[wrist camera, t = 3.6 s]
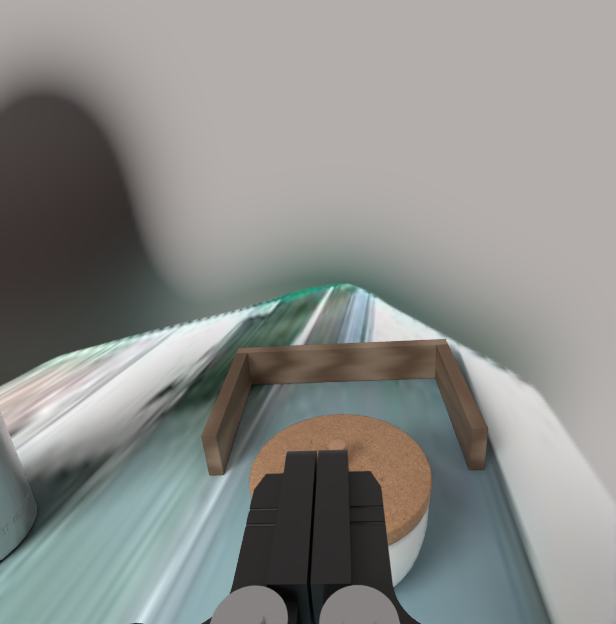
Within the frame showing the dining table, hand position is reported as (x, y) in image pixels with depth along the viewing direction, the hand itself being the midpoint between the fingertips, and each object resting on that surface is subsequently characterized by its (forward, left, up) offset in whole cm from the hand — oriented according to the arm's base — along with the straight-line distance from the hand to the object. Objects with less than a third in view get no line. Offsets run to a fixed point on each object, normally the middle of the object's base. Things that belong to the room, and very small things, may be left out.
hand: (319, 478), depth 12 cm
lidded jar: (0, +13, -19) cm, 23 cm away
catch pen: (0, +28, -19) cm, 34 cm away
